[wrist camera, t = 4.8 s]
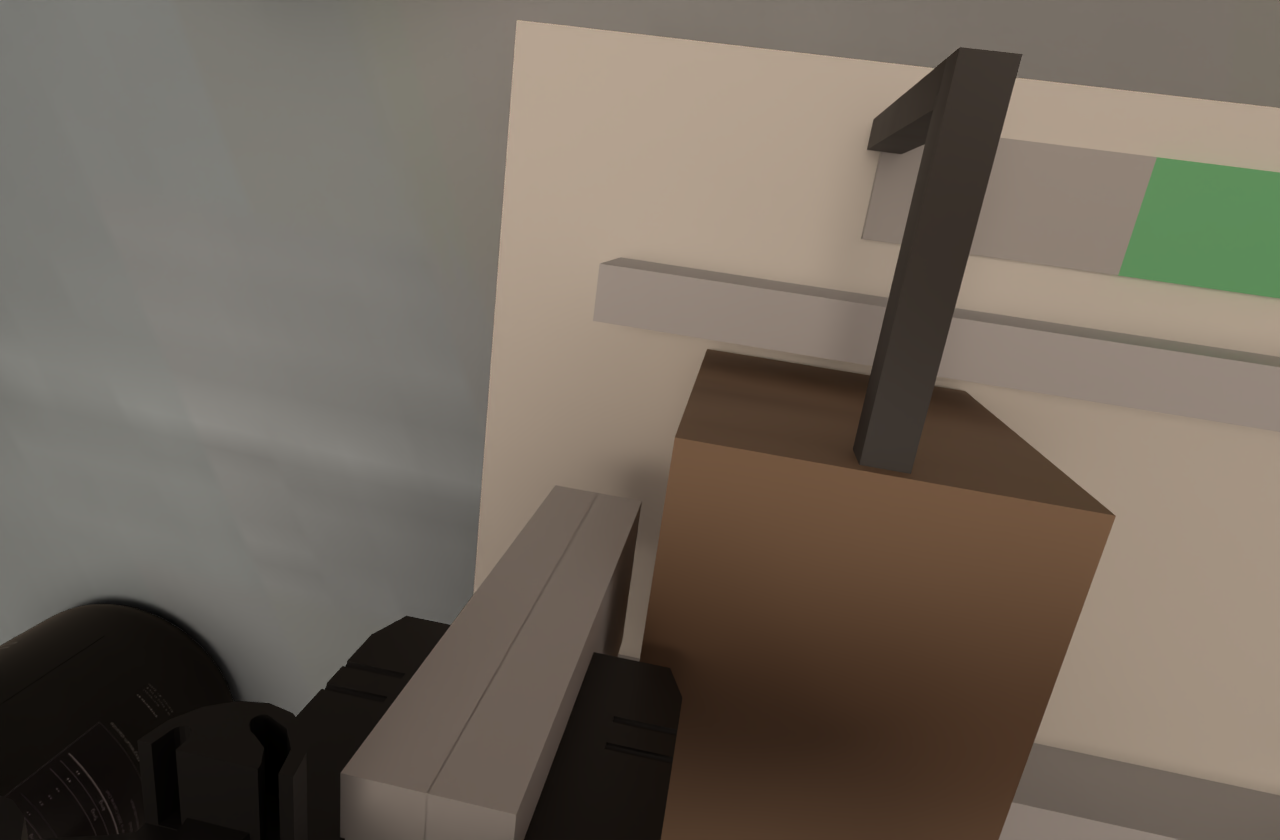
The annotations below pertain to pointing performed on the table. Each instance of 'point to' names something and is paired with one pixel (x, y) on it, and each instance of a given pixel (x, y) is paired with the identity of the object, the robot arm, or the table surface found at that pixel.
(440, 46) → the table surface
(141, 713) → the supplement bottle
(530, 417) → the gauge base
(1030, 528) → the block with hooked handle
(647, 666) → the robot arm
